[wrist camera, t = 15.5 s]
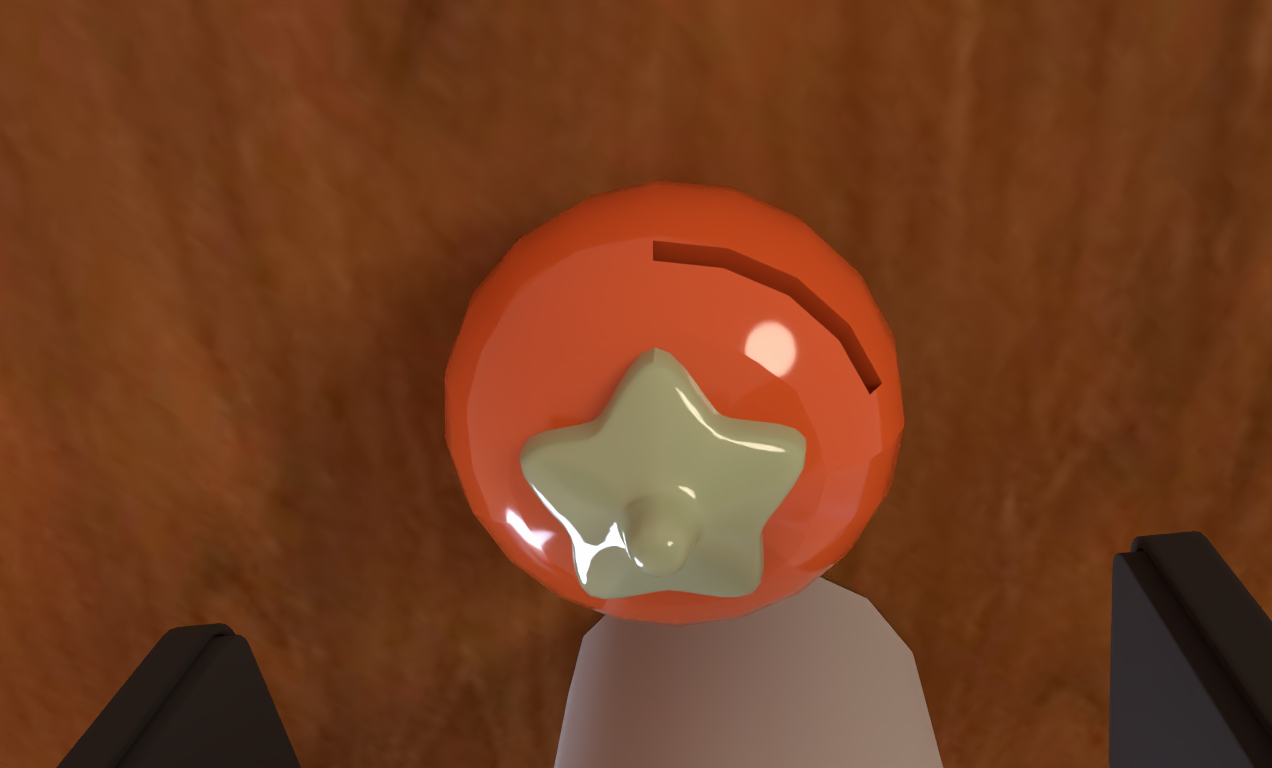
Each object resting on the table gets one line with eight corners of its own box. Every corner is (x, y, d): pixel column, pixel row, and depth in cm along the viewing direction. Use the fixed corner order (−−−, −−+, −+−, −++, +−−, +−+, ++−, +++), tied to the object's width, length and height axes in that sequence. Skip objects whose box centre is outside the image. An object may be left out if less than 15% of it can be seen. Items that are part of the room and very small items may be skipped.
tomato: (950, 272, 19) (1097, 496, 11) (730, 541, 22) (736, 853, 14) (617, 53, 17) (545, 149, 10) (432, 370, 20) (275, 620, 13)
